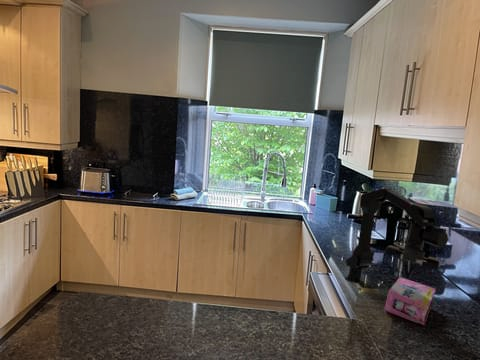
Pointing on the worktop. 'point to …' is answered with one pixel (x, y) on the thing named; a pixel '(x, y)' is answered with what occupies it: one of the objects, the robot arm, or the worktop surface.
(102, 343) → the worktop surface
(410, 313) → the gum box
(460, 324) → the worktop surface
